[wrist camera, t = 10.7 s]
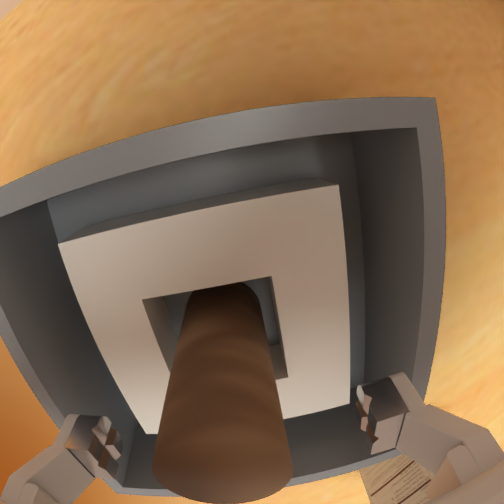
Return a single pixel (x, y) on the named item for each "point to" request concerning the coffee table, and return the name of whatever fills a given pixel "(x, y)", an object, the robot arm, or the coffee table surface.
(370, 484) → the supplement box
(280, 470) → the peg
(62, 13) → the coffee table surface
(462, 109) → the coffee table surface
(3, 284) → the bin
